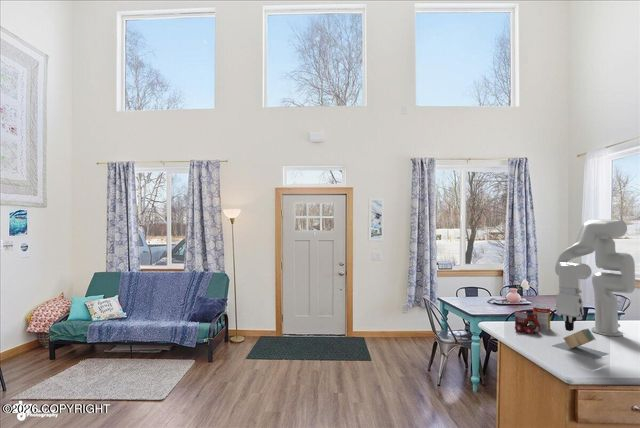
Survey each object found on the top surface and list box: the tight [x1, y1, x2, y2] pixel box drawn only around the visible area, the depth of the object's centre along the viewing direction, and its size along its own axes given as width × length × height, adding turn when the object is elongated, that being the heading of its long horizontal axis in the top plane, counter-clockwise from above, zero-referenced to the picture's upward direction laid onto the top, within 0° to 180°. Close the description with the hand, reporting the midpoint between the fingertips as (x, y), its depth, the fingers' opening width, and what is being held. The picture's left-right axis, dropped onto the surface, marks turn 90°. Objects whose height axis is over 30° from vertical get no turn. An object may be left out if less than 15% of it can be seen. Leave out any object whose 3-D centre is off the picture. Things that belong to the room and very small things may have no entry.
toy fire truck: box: [514, 310, 541, 335], centre depth 191 cm, size 7×12×10 cm, turn 37°
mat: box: [551, 341, 609, 359], centre depth 164 cm, size 12×18×1 cm, turn 27°
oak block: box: [562, 328, 596, 349], centre depth 164 cm, size 5×5×10 cm
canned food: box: [532, 304, 551, 332], centre depth 197 cm, size 8×8×12 cm
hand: (569, 330), depth 168 cm, fingers closed
